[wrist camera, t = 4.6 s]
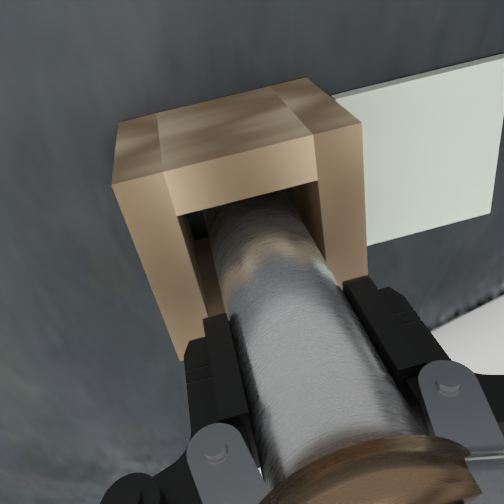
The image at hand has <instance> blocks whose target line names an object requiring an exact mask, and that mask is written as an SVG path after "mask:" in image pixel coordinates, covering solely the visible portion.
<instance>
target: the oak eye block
mask: <svg viewBox="0 0 504 504" xmlns="http://www.w3.org/2000/svg"><path fill="white" fill-rule="evenodd" d="M111 186H112V188H113V191H114V193H115V196H116V198H117V201H118V203H119V206H120V209H121V211H122V214H123V216H124V219H125V221H126V224H127V227H128V229H129V232H130V234H131V237H132V239H133V242H134V245H135V247H136V250H137V252H138V255H139V257H140V260H141V263H142V265H143V268H144V270H145V273H146V275H147V278H148V281H149V283H150V286H151V288H152V291H153V293H154V296H155V299H156V301H157V304H158V306H159V309H160V311H161V314H162V317H163V319H164V322H165V324H166V327H167V329H168V332H169V335H170V337H171V340H172V342H173V345H174V347H175V350H176V353H177V355H178V358H179V360H180V361H183V360H184V353H185V351H186V348H187V345H188V343H189V341H190V340H194V339H198V338H201V337H205V333H204V326H203V319H204V318H207V317H211V316H215V315H218V314H222V313H226V312H225V308H224V304H223V299H222V295H221V290H220V286H219V282H218V277H217V273H216V268H215V264H214V259H213V255H212V251H211V246H210V242H209V237H206V238H202V239H198V240H194V237H193V234H192V231H191V227H190V224H189V220H188V217H187V214H188V213H192V212H196V211H199V210H203V209H207V208H211V207H215V206H219V205H223V204H227V203H231V202H235V201H239V200H243V199H246V198H250V197H254V196H258V195H262V194H266V193H270V192H274V191H278V190H282V189H285V191H286V193H287V195H288V197H289V198H290V200H291V202H292V204H293V205H294V207H295V209H296V211H297V212H298V214H299V216H300V217H301V219H302V221H303V223H304V224H305V226H306V228H307V230H308V231H309V233H310V235H311V237H312V238H313V240H314V242H315V244H316V245H317V247H318V249H319V251H320V252H321V254H322V256H323V258H324V259H325V261H326V263H327V265H328V266H329V268H330V270H331V272H332V273H333V275H334V277H335V279H336V280H337V282H338V284H339V286H340V287H341V289H342V283H343V281H346V280H350V279H354V278H357V277H361V276H365V275H368V262H367V237H366V212H365V187H364V162H363V137H362V122H361V121H359V120H358V119H357V118H356V117H354V116H353V115H352V114H351V113H350V112H348V111H347V110H346V109H345V108H343V107H342V106H341V105H340V104H338V103H337V102H336V101H335V100H334V99H332V98H331V97H330V96H329V95H327V94H326V93H325V92H324V91H323V90H321V89H320V88H319V87H318V86H316V85H315V84H314V83H313V82H311V81H310V80H309V79H308V78H307V77H305V78H301V79H297V80H292V81H288V82H284V83H280V84H276V85H272V86H267V87H263V88H259V89H255V90H251V91H247V92H242V93H238V94H234V95H230V96H226V97H222V98H217V99H213V100H209V101H205V102H201V103H197V104H192V105H188V106H184V107H180V108H176V109H172V110H167V111H163V112H159V113H155V114H151V115H147V116H142V117H138V118H134V119H130V120H126V121H122V122H118V128H117V137H116V146H115V156H114V165H113V174H112V183H111ZM342 291H343V289H342Z"/></svg>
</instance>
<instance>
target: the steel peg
mask: <svg viewBox="0 0 504 504" xmlns="http://www.w3.org/2000/svg"><path fill="white" fill-rule="evenodd" d="M202 211H203V215H204V220H205V224H206V228H207V233H208V237H209V242H210V246H211V251H212V255H213V259H214V264H215V268H216V273H217V277H218V282H219V286H220V290H221V295H222V299H223V304H224V308H225V312H226V313H227V317H228V320H229V324H230V328H231V333H232V337H233V341H234V346H235V350H236V355H237V359H238V363H239V368H240V372H241V376H242V381H243V385H244V389H245V394H246V398H247V402H248V407H249V411H250V415H251V420H252V424H253V428H254V441H255V445H256V450H257V454H258V459H259V463H260V467H261V472H262V476H263V480H264V482H265V484H266V486H267V488H268V490H269V493H268V494H267V495H266V496H265V497H264V498H263V499H262V500H261V502H260V503H259V504H462V501H463V499H465V498H468V497H472V496H475V495H478V494H482V493H483V492H482V490H481V489H480V487H479V486H478V484H477V482H476V481H475V479H474V477H473V476H472V474H471V473H470V471H469V469H468V467H467V465H466V462H465V457H466V456H470V453H469V451H468V449H467V448H465V447H464V446H463V445H461V444H459V443H457V442H455V441H453V440H450V439H446V438H442V437H438V436H430V435H425V434H424V432H423V430H422V429H421V427H420V425H419V423H418V422H417V420H416V418H415V416H414V415H413V413H412V411H411V410H410V408H409V406H408V404H407V403H406V401H405V399H404V397H403V396H402V394H401V392H400V390H399V389H398V387H397V385H396V383H395V382H394V380H393V378H392V376H391V375H390V373H389V371H388V369H387V368H386V366H385V364H384V362H383V361H382V359H381V357H380V355H379V354H378V352H377V350H376V348H375V347H374V345H373V343H372V341H371V340H370V338H369V336H368V334H367V333H366V331H365V329H364V327H363V326H362V324H361V322H360V320H359V319H358V317H357V315H356V313H355V312H354V310H353V308H352V307H351V305H350V303H349V301H348V300H347V298H346V296H345V294H344V293H343V291H342V289H341V287H340V286H339V284H338V282H337V280H336V279H335V277H334V275H333V273H332V272H331V270H330V268H329V266H328V265H327V263H326V261H325V259H324V258H323V256H322V254H321V252H320V251H319V249H318V247H317V245H316V244H315V242H314V240H313V238H312V237H311V235H310V233H309V231H308V230H307V228H306V226H305V224H304V223H303V221H302V219H301V217H300V216H299V214H298V212H297V211H296V209H295V207H294V205H293V204H292V202H291V200H290V198H289V197H288V195H287V193H286V191H285V190H284V189H282V190H278V191H274V192H270V193H266V194H262V195H258V196H254V197H250V198H246V199H243V200H239V201H235V202H231V203H227V204H223V205H219V206H215V207H211V208H207V209H203V210H202Z"/></svg>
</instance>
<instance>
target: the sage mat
mask: <svg viewBox="0 0 504 504" xmlns="http://www.w3.org/2000/svg"><path fill="white" fill-rule="evenodd" d="M331 98H332V99H334V100H335V101H336V102H337V103H338V104H340V105H341V106H342V107H343V108H345V109H346V110H347V111H348V112H350V113H351V114H352V115H353V116H354V117H356V118H357V119H358V120H359V121H361V122H362V137H363V162H364V187H365V212H366V237H367V246H369V245H372V244H376V243H380V242H384V241H387V240H391V239H395V238H399V237H402V236H406V235H410V234H414V233H417V232H421V231H425V230H429V229H432V228H436V227H440V226H444V225H447V224H451V223H455V222H459V221H462V220H466V219H470V218H474V217H477V216H481V215H485V214H489V213H490V211H491V203H492V196H493V189H494V182H495V174H496V167H497V160H498V153H499V146H500V138H501V131H502V124H503V117H504V54H499V55H495V56H490V57H486V58H482V59H478V60H474V61H470V62H466V63H462V64H458V65H453V66H449V67H445V68H441V69H437V70H433V71H429V72H425V73H421V74H417V75H412V76H408V77H404V78H400V79H396V80H392V81H388V82H384V83H380V84H375V85H371V86H367V87H363V88H359V89H355V90H351V91H347V92H343V93H338V94H334V95H331Z"/></svg>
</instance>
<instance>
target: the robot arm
mask: <svg viewBox="0 0 504 504" xmlns="http://www.w3.org/2000/svg"><path fill="white" fill-rule="evenodd" d="M342 289H343V293H344V294H345V296H346V298H347V300H348V301H349V303H350V305H351V307H352V308H353V310H354V312H355V313H356V315H357V317H358V319H359V320H360V322H361V324H362V326H363V327H364V329H365V331H366V333H367V334H368V336H369V338H370V340H371V341H372V343H373V345H374V347H375V348H376V350H377V352H378V354H379V355H380V357H381V359H382V361H383V362H384V364H385V366H386V368H387V369H388V371H389V373H390V375H391V376H392V378H393V380H394V382H395V383H396V385H397V387H398V389H399V390H400V392H401V394H402V396H403V397H404V399H405V401H406V403H407V404H408V406H409V408H410V410H411V411H412V413H413V415H414V416H415V418H416V420H417V422H418V423H419V425H420V427H421V429H422V430H423V432H424V434H425V435H430V436H438V437H442V438H446V439H450V440H453V441H455V442H457V443H459V444H461V445H463V446H464V447H465V448H467V449H468V451H469V453H470V456H466V457H465V462H466V465H467V467H468V469H469V471H470V473H471V474H472V476H473V477H474V479H475V481H476V482H477V484H478V486H479V487H480V489H481V490H482V492H483V493H482V494H478V495H475V496H472V497H468V498H465V499H463V501H462V504H504V375H482V374H476V373H473V372H472V371H471V370H470V369H469V368H467V367H465V366H464V365H462V364H460V363H457V362H454V361H452V360H451V359H450V358H449V357H448V356H447V354H446V353H445V352H444V350H443V349H442V347H441V346H440V345H439V343H438V342H437V341H436V339H435V338H434V337H433V335H432V334H431V332H430V331H429V330H428V328H427V327H426V326H425V324H424V323H423V322H422V321H421V320H420V317H419V316H418V315H417V313H416V312H415V311H413V308H412V307H411V305H410V304H409V302H408V301H407V300H406V298H405V297H404V296H403V295H401V294H400V293H398V292H396V291H395V290H393V289H392V288H390V287H387V288H383V289H380V290H378V289H377V287H376V286H375V284H374V283H373V281H372V280H371V278H370V277H369V276H368V275H365V276H361V277H357V278H354V279H350V280H346V281H343V283H342ZM203 326H204V333H205V337H201V338H198V339H194V340H190V341H189V343H188V345H187V348H186V351H185V353H184V365H185V372H186V373H185V374H186V383H187V394H188V404H189V413H190V423H191V438H190V442H189V444H188V447H187V449H186V450H185V452H184V453H183V455H182V456H181V457H180V458H179V459H178V460H177V461H176V462H175V463H173V464H172V465H171V466H169V467H167V468H166V469H164V470H163V471H161V472H160V473H158V474H157V475H155V476H153V477H151V476H150V475H148V474H145V473H132V474H129V475H126V476H124V477H122V478H120V479H119V480H117V481H116V482H115V483H114V484H113V485H111V487H110V488H109V489H108V490H107V492H106V493H105V495H104V497H103V499H102V501H101V503H100V504H259V503H260V502H261V500H262V499H263V498H264V497H265V496H266V495H267V494H268V493H269V490H268V488H267V486H266V484H265V482H264V480H263V478H262V476H261V474H260V472H259V470H258V468H259V467H260V463H259V459H258V454H257V450H256V445H255V441H254V428H253V424H252V420H251V415H250V411H249V407H248V402H247V398H246V394H245V389H244V385H243V381H242V376H241V372H240V368H239V363H238V359H237V355H236V350H235V346H234V341H233V337H232V333H231V328H230V324H229V320H228V317H227V313H222V314H218V315H215V316H211V317H207V318H204V319H203Z"/></svg>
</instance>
